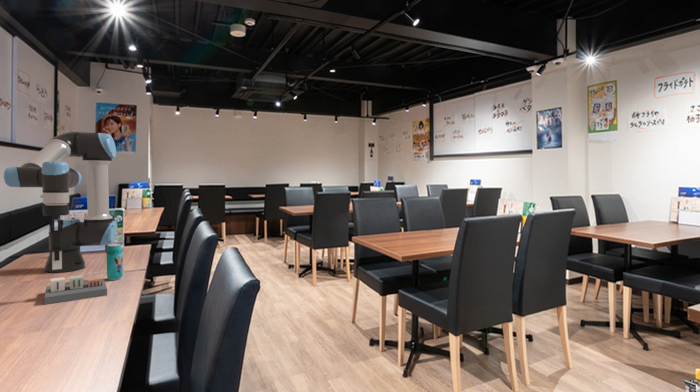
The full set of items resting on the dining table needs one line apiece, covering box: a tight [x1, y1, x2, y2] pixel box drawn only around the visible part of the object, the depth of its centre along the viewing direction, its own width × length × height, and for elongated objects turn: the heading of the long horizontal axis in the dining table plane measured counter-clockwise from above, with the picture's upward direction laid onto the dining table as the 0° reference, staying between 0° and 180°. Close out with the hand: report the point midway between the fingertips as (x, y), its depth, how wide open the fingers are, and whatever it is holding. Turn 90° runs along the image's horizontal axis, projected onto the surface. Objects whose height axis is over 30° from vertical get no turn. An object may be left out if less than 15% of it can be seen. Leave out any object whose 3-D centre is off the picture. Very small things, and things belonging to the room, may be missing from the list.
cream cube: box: [50, 276, 66, 292], centre depth 134 cm, size 4×4×4 cm
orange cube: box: [87, 276, 102, 288], centre depth 141 cm, size 4×4×4 cm
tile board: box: [43, 278, 108, 305], centre depth 138 cm, size 16×18×2 cm
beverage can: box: [106, 243, 124, 282], centre depth 158 cm, size 6×6×15 cm
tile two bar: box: [69, 274, 84, 290], centre depth 138 cm, size 4×4×4 cm
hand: (57, 268), depth 134 cm, fingers closed
